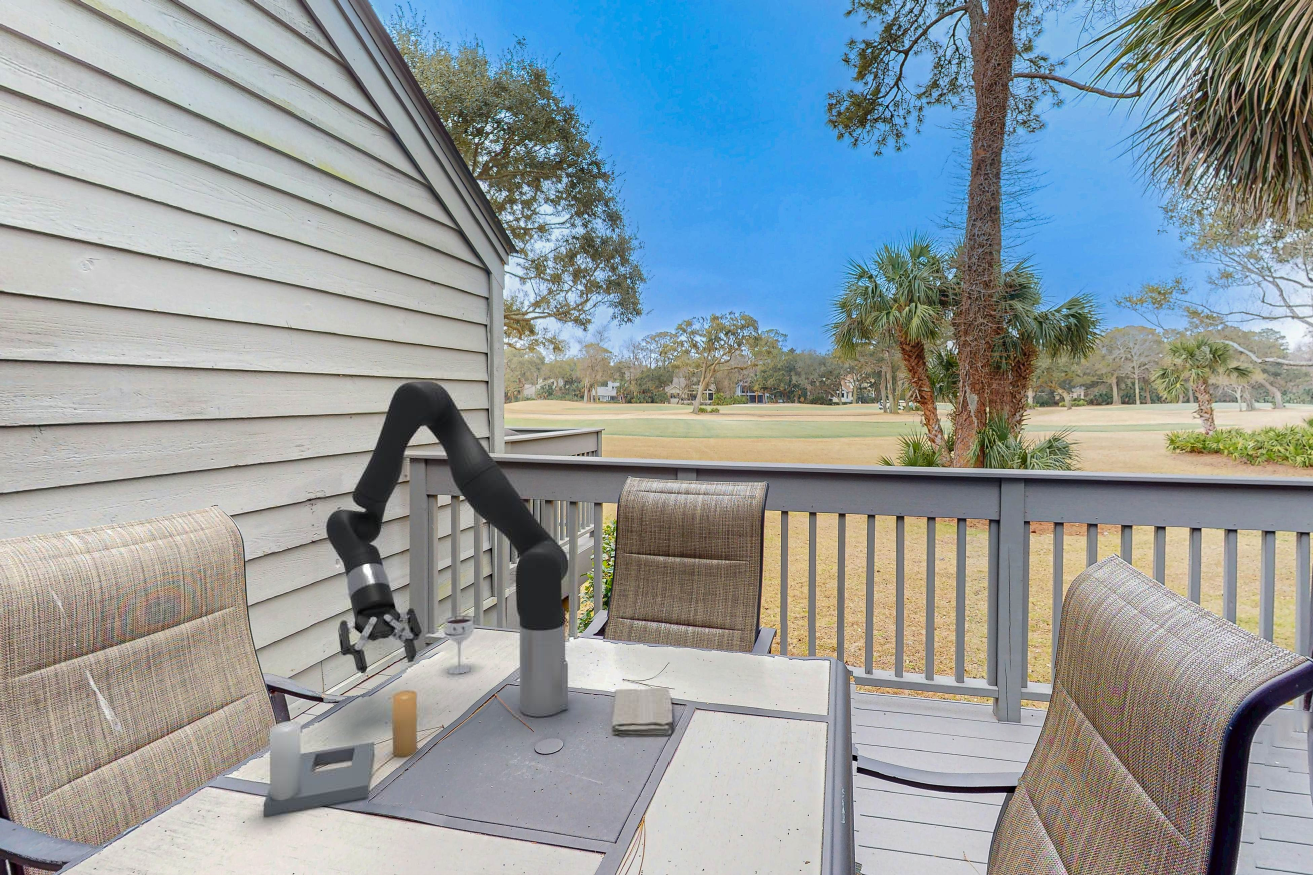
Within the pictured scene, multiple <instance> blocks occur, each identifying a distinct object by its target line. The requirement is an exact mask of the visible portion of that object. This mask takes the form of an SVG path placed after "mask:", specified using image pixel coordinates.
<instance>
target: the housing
mask: <svg viewBox="0 0 1313 875" xmlns="http://www.w3.org/2000/svg"><path fill="white" fill-rule="evenodd" d="M301 750H302V749H301V722H299V721H295V720H289V721H283V722H281V723H277V724H275V725H273V726H271V728H270V729H269V776H270V777H269V783H270V784H269V789H268V791H267V794H266V796H265V800H264V802H263V818H265V817H270V816H276V815H281V814H282V815H283V814H286V813H293V812H297V811H302V810H303V811H304V810H307V809H313V808H319V807H323V806H330V805H336V804H341V803H348V802H353V801H357V800H362V799H368V798H369V792H370V786H371V779H372V772H373V766H374V765H373V764H374V758H375V742H374V741H372V742H367V743H360V744H354V745H348V746H341V747H335V748H329V749H328V748H327V749H321V750H314V751H309V752H308V751H307V752H302V751H301ZM301 752H302V753H301ZM347 761H351V764H350V765H345V766H340V767H334V768H328V769H323V770H316V766H322V765H327V764H333V763H334V764H335V763H339V762H347Z"/></svg>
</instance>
